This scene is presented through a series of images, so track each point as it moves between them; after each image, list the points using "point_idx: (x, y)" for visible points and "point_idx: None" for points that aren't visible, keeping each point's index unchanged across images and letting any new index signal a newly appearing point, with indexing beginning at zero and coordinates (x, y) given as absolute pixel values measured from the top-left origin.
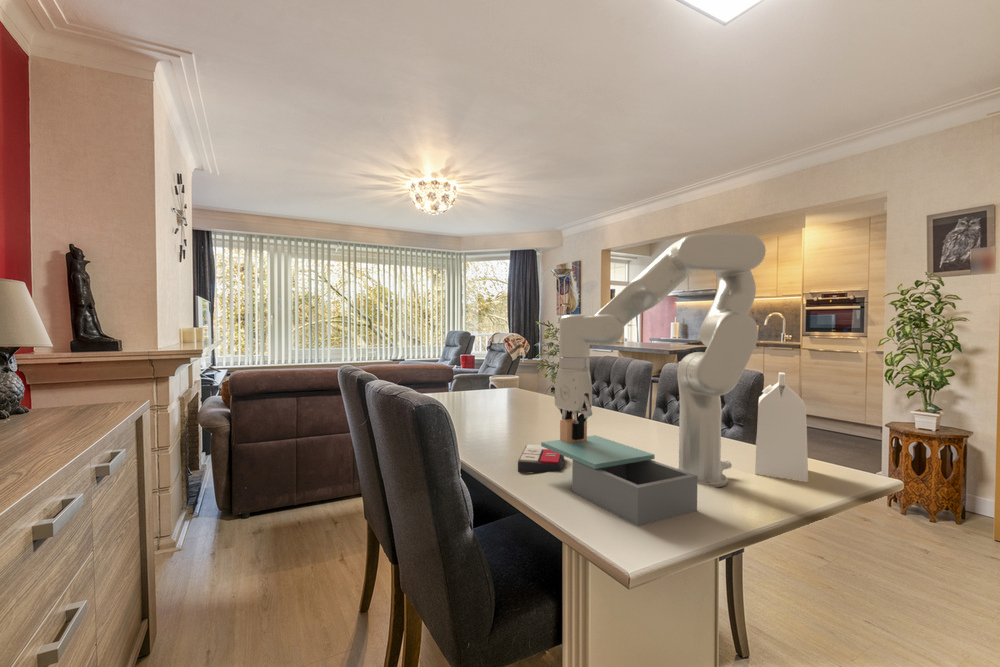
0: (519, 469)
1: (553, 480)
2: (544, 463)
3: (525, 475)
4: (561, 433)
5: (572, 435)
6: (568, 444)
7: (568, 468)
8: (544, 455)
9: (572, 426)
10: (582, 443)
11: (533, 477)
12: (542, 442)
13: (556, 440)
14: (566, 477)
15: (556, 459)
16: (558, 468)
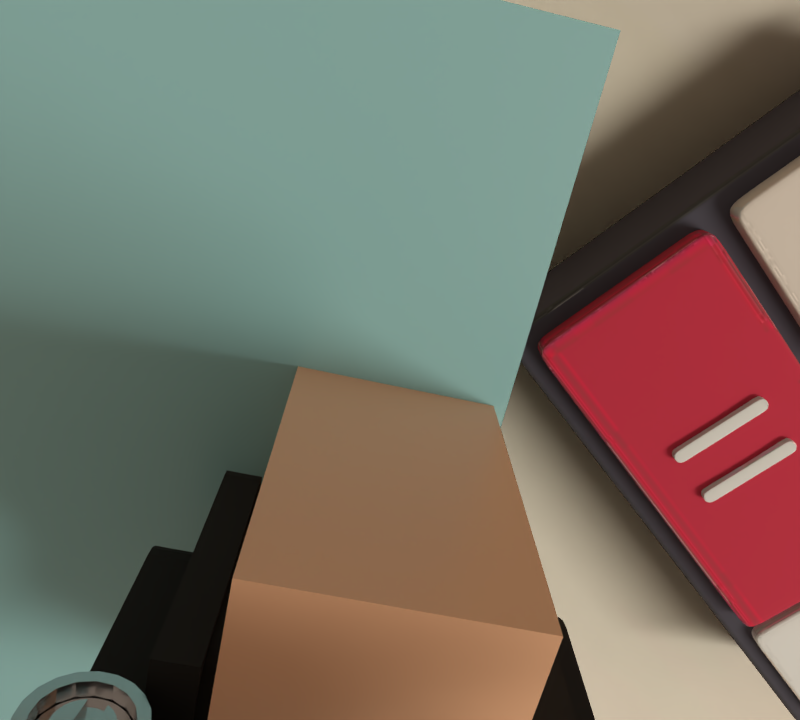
0: None
1: None
2: (652, 248)
3: (721, 24)
4: (466, 454)
5: (246, 504)
6: (200, 299)
7: (559, 495)
8: (780, 391)
9: (213, 616)
10: (127, 507)
11: (619, 45)
12: (589, 27)
13: (514, 342)
14: None
15: (601, 395)
16: None
